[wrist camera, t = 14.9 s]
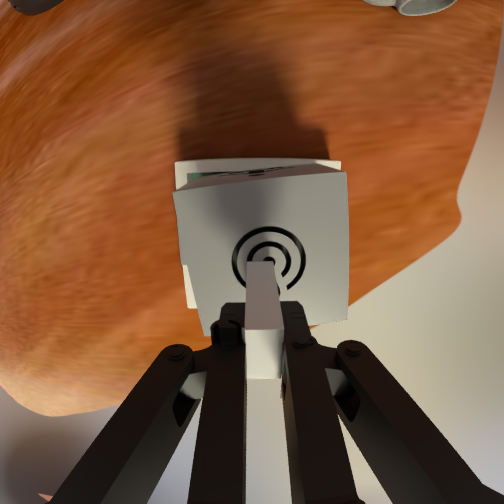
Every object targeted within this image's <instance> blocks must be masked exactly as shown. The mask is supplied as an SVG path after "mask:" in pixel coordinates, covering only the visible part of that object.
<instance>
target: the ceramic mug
mask: <svg viewBox="0 0 504 504" xmlns="http://www.w3.org/2000/svg"><path fill="white" fill-rule="evenodd" d="M363 1H365V2H367V3H369V4H372V5H377V6H395V7H396V8H397V10H398V12H400V13H401V14H403V15H408V16H419V15H426V14H431V13H435V12H438V11H440V10H443V9H445V8H447V7H449V6H451V5H452V4H454V3H455V2H456V1H457V0H363Z"/></svg>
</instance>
